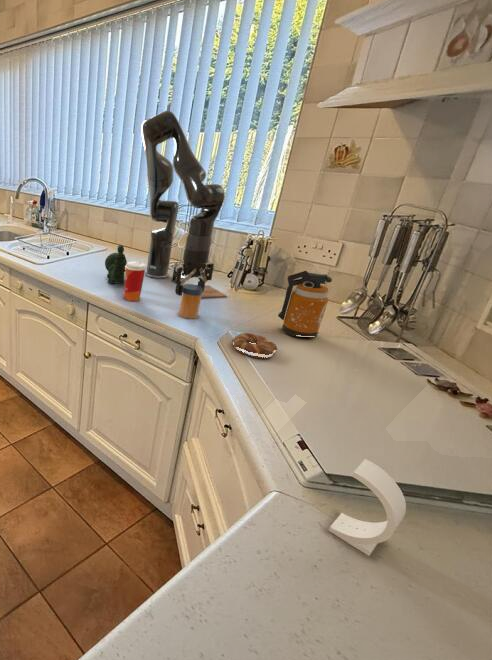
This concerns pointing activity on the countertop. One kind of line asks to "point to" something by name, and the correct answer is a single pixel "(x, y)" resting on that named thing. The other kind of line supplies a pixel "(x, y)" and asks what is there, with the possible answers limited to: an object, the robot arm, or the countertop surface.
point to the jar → (189, 306)
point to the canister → (305, 304)
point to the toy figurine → (116, 266)
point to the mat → (211, 293)
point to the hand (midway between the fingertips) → (189, 293)
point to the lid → (192, 289)
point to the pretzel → (260, 346)
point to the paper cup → (133, 280)
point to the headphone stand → (366, 532)
